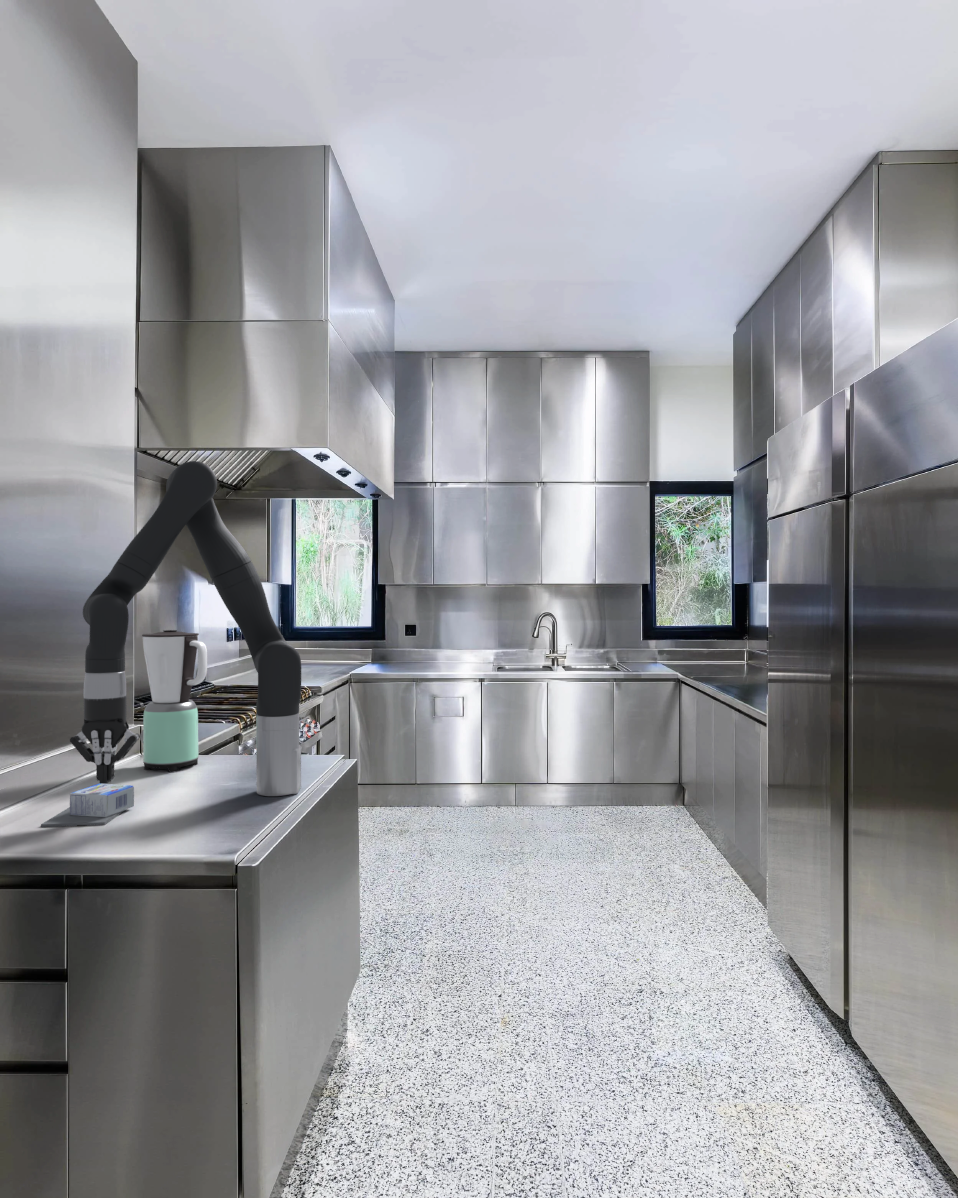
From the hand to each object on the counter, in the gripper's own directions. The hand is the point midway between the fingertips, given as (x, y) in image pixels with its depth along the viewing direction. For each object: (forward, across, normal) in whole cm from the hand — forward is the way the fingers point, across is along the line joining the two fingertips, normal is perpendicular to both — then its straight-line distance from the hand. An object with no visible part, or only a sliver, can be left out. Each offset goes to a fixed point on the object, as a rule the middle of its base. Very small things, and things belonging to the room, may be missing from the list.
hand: (105, 782), depth 143 cm
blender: (+7, 0, -43) cm, 44 cm away
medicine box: (+4, -3, -1) cm, 5 cm away
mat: (+7, +4, 0) cm, 7 cm away
